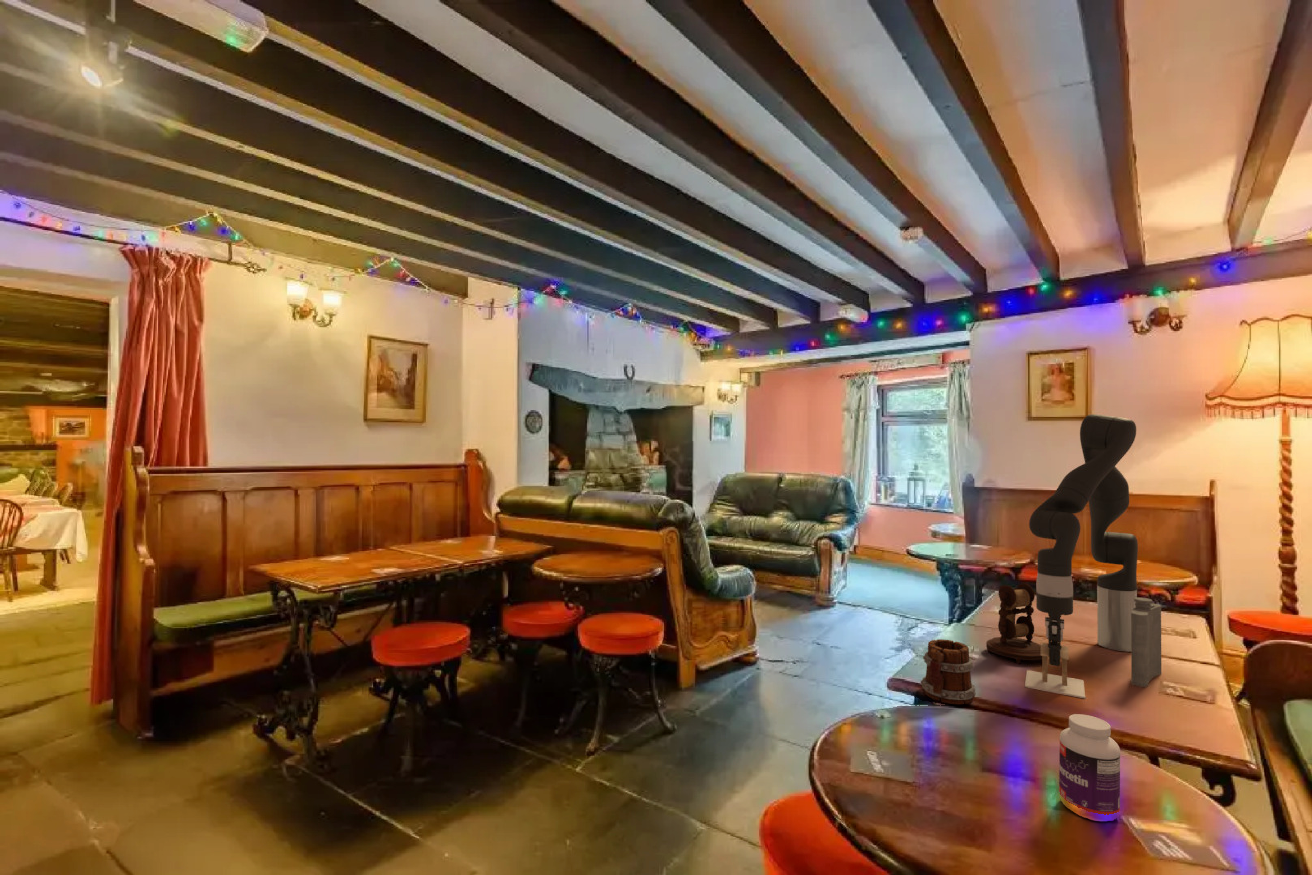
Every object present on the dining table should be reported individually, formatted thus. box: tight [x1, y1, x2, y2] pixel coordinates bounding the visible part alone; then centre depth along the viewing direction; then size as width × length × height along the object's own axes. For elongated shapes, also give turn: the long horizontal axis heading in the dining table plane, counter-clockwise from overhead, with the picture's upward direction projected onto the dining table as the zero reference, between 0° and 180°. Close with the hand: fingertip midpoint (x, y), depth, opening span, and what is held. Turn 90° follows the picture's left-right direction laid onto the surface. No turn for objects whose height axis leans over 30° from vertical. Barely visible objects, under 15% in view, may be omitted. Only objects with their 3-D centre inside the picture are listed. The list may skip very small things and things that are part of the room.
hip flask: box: [1130, 596, 1162, 688], centre depth 154 cm, size 16×4×20 cm, turn 129°
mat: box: [1024, 669, 1086, 700], centre depth 149 cm, size 12×12×1 cm
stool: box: [1040, 642, 1069, 686], centre depth 149 cm, size 6×6×8 cm
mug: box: [920, 638, 977, 705], centre depth 142 cm, size 12×14×15 cm
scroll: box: [985, 582, 1049, 665], centre depth 169 cm, size 15×15×20 cm
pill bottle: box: [1058, 713, 1121, 815], centre depth 98 cm, size 8×8×14 cm
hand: (1054, 660), depth 149 cm, fingers closed on stool, 5 cm apart
